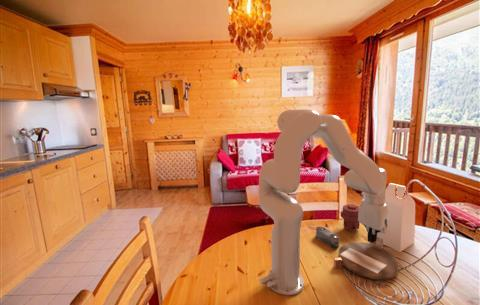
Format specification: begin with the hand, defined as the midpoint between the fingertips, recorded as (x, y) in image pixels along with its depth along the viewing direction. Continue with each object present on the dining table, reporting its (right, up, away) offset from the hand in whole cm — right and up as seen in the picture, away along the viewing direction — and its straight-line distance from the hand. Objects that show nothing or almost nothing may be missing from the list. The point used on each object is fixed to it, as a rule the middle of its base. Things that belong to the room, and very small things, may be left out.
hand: (371, 241), depth 99 cm
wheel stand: (-10, -7, -7) cm, 14 cm away
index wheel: (-5, -5, -6) cm, 10 cm away
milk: (+14, -3, +9) cm, 17 cm away
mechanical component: (+1, -2, +20) cm, 20 cm away
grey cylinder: (-15, -4, +10) cm, 18 cm away
